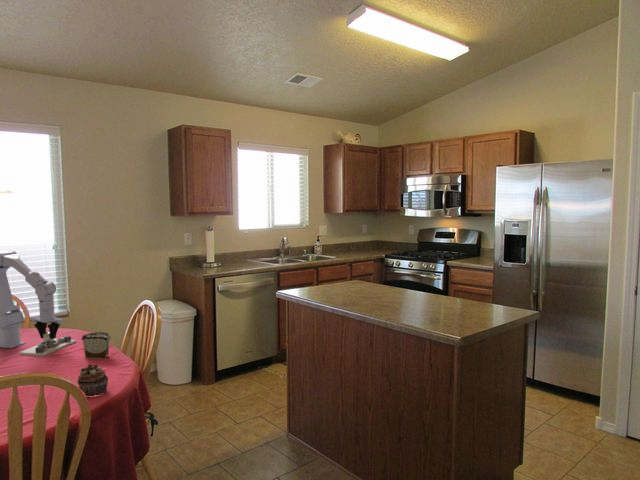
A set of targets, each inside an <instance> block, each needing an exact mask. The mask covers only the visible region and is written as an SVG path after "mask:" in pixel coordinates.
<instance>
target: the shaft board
mask: <svg viewBox="0 0 640 480" xmlns="http://www.w3.org/2000/svg"><path fill="white" fill-rule="evenodd" d="M57 339H58V338H54V343H53V344H49V345H47V349H45V351H44V352H43V353H36V349H35V348H36V347H40V346H41V345H43V344H44V340H43V341H41V342H38V344H36V345H35V346H31V347H30V348H27V349H24V350H21V351H19V352H18V354H19V355H21V356H23V355H24V356H35V357H45V356H47V355H49V354H53V353H54V352H57V351H58V350H61V349H63V348H65V347H68V346H71V345H72V344H75V343H77V340H76V339H71V341H69V342H62V343H59V341H58V340H57ZM70 344H71V345H70Z"/></svg>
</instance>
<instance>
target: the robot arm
mask: <svg viewBox="0 0 640 480" xmlns="http://www.w3.org/2000/svg"><path fill="white" fill-rule="evenodd" d="M10 268H13V269H14V270H16V271H17V272H18V273H20V274H21V275H22V276H24V277H25V278H24V281H25V282H26V283H28V285H30V287H32V288H33V289H34V292H35V295H36V296H37V300H38V307H39V309H38V310H39V316H38V317H36V316H35V317H32V318H31V323H35V324H34V327H35V329H37V332H38V335H39V337H40V339H43V333H45V332H47V327H48V332H50V338H51V339H57V333H58V330H59V328H60V326H61V324H64V320H63V319H64V318H59V317H56V316H55V300H54V295H55V293H56V291H57V286H56V283H54V282H53V281H49V280H47V279H45V278H44V277H43V276H42V275H41V274H40V272H38V271H32V270H31V269H30V268H29V267H28V265H26V264H25V263H24V261H23V260H21V255H20V254H18V253H17V252H16V251H15V250H11V249H10V250H7V251H0V348H3V349H13V348H16V347H19V346H21V345H24V344H26V342H25V341H22V340H21V325H22V322H23V321H24V317H25V316H24V314H23V312H22V311H21V308H20V307H19V306H18V305H16V304H15V302H14V298H13V295H12V291H11V287H10V284H9V280H8V275H7V271H8V270H9V269H10Z"/></svg>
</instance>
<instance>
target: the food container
mask: <svg viewBox="0 0 640 480" xmlns="http://www.w3.org/2000/svg"><path fill="white" fill-rule="evenodd" d="M111 337H112V336H111V334H110V333H109V332H106V331H96V332H89V333H84V334H82V335H81V341H82V344H83V351H84V358H85V359H93V360H95V359H98V360H107V359H108V357H109V346H110V341H111V339H112V338H111Z"/></svg>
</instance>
